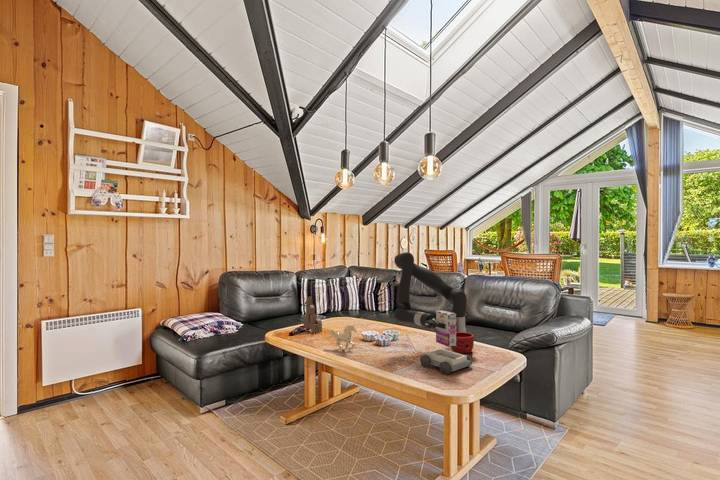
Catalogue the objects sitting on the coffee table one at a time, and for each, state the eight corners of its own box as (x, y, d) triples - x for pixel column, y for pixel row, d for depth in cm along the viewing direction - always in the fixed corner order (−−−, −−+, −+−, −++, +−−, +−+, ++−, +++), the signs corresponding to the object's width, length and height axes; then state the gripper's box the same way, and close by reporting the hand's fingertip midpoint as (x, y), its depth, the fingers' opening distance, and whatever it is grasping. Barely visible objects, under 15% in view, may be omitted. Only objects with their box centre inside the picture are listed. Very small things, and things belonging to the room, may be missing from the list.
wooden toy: (322, 332, 267) (322, 296, 267) (314, 334, 263) (314, 297, 262) (309, 328, 279) (309, 294, 278) (302, 330, 274) (301, 295, 274)
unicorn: (327, 348, 230) (327, 319, 229) (331, 346, 233) (331, 318, 233) (355, 353, 219) (354, 323, 218) (358, 351, 222) (358, 322, 222)
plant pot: (476, 354, 216) (476, 333, 216) (470, 360, 204) (470, 338, 204) (453, 350, 222) (453, 330, 222) (446, 357, 211) (446, 335, 211)
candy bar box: (457, 346, 191) (456, 313, 191) (449, 347, 189) (448, 314, 189) (443, 340, 201) (443, 309, 201) (435, 341, 199) (435, 310, 199)
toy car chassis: (442, 358, 209) (442, 346, 209) (473, 368, 193) (473, 355, 193) (419, 365, 198) (419, 352, 198) (450, 376, 182) (450, 362, 182)
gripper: (415, 314, 202) (439, 320, 189) (433, 310, 211) (458, 316, 198) (415, 328, 202) (439, 335, 189) (433, 324, 211) (458, 330, 198)
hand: (449, 325), depth 194 cm, fingers closed on candy bar box, 6 cm apart
